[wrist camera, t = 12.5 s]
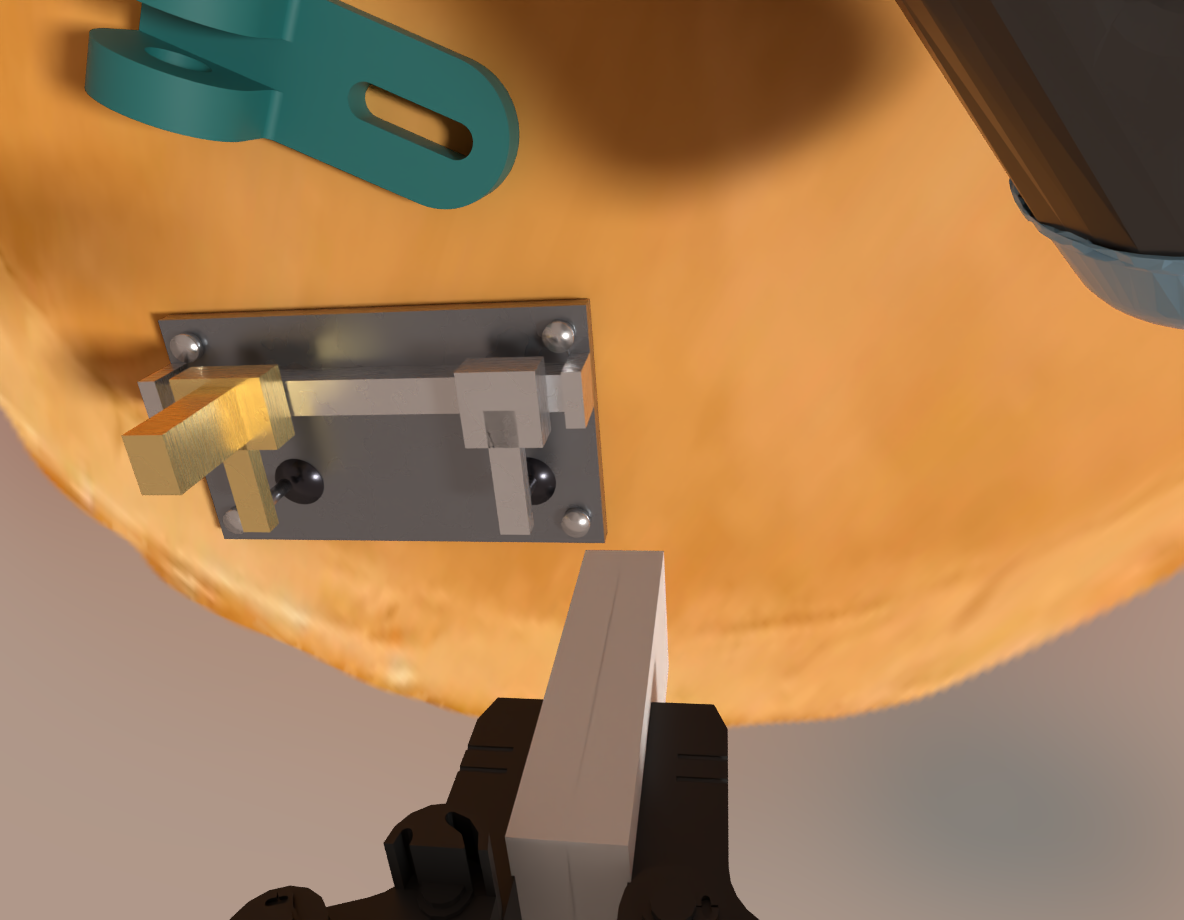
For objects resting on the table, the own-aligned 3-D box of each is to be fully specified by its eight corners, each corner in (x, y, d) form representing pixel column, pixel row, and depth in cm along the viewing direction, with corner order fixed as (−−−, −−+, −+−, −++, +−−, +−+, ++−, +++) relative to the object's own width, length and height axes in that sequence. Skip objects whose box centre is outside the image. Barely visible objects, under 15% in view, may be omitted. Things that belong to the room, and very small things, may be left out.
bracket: (162, 79, 41) (46, 82, 34) (181, -70, 38) (58, -101, 31) (494, 223, 42) (449, 255, 35) (539, 88, 39) (499, 93, 32)
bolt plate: (170, 314, 46) (151, 323, 45) (589, 298, 43) (584, 307, 41) (234, 529, 52) (219, 543, 51) (607, 532, 49) (603, 548, 47)
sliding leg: (209, 356, 45) (87, 425, 37) (293, 353, 45) (189, 424, 36) (250, 499, 49) (148, 593, 40) (328, 499, 48) (241, 595, 40)
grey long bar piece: (168, 355, 46) (119, 380, 42) (589, 343, 42) (576, 370, 39) (211, 496, 50) (170, 531, 46) (601, 497, 46) (590, 535, 42)
